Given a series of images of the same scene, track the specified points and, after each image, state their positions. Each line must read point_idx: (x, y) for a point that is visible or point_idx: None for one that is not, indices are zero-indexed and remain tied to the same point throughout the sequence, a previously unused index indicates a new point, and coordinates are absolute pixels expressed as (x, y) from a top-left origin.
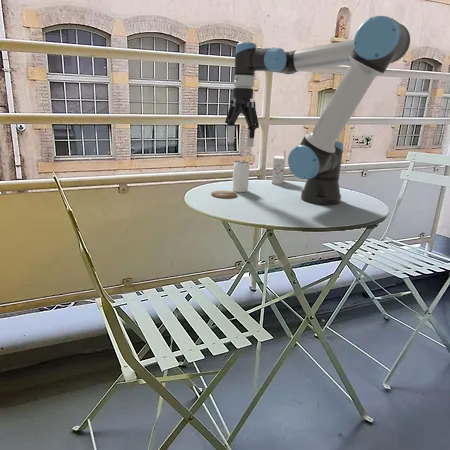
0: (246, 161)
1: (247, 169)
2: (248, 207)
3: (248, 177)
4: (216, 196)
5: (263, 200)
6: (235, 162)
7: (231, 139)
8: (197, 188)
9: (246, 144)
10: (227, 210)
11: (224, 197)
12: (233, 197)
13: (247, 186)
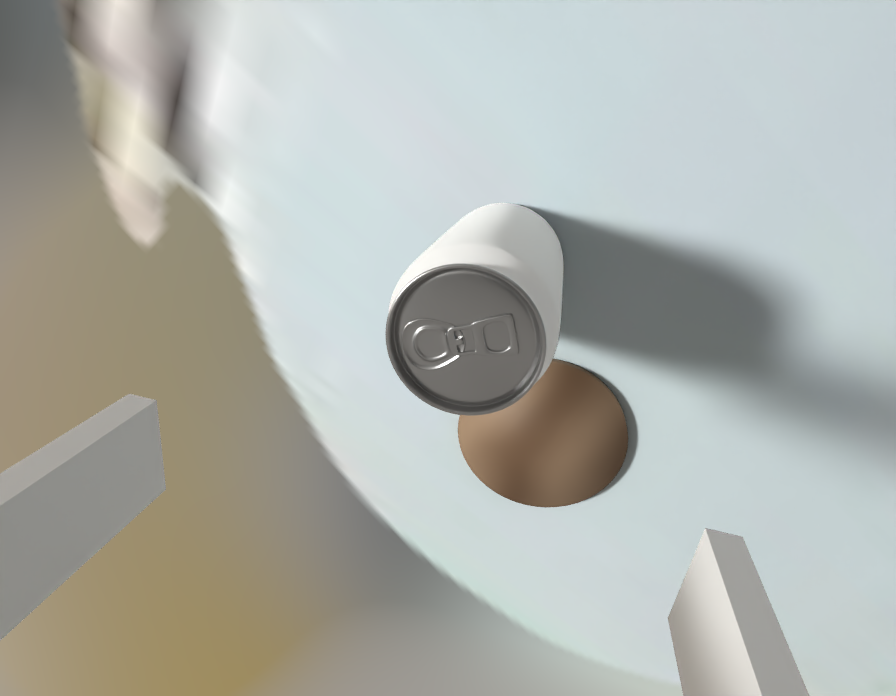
0: (463, 269)
1: (560, 311)
2: (856, 516)
3: (552, 256)
4: (556, 504)
5: (823, 318)
6: (442, 405)
7: (129, 475)
8: (324, 445)
9: (680, 653)
10: (802, 627)
11: (602, 485)
12: (627, 434)
13: (559, 248)
